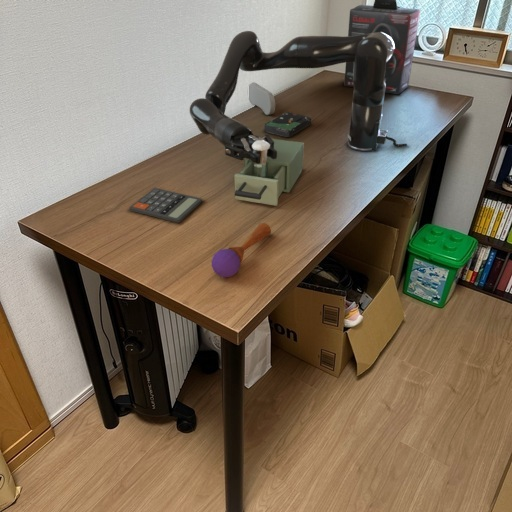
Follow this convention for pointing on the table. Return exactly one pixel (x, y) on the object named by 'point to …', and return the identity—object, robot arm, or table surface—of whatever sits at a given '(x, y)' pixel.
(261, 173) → the milkshake
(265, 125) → the disk drive
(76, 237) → the table surface
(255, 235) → the kendama
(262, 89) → the gray flat panel
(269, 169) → the drawer
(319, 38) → the robot arm
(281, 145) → the cabinet
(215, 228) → the table surface
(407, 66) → the headset box
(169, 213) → the calculator
